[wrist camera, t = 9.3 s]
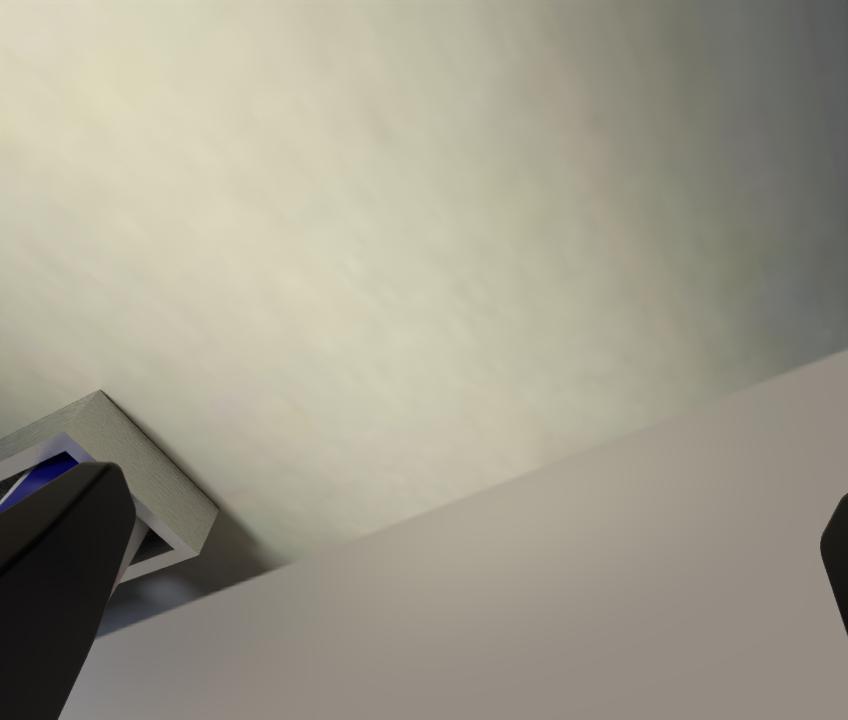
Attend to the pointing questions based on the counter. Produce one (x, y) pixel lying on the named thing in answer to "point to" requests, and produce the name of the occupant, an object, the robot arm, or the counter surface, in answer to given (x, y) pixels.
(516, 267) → the counter surface
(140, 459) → the tray
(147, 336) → the counter surface
